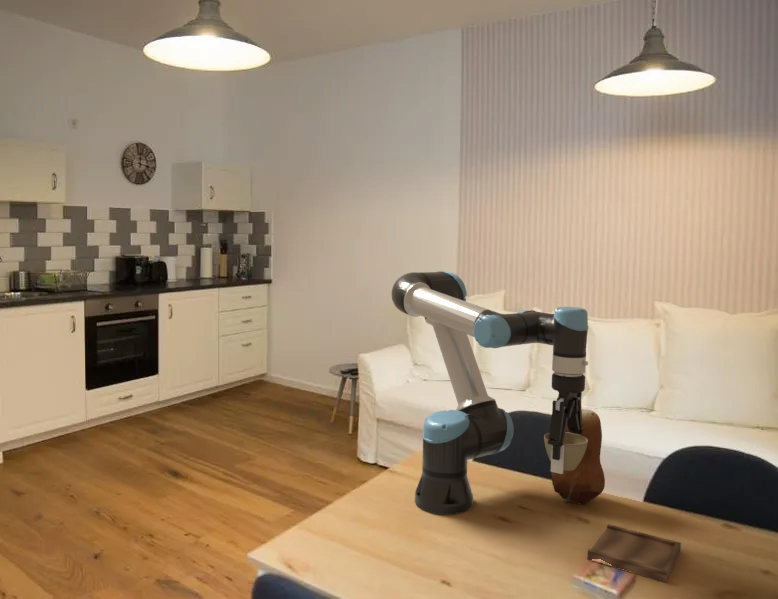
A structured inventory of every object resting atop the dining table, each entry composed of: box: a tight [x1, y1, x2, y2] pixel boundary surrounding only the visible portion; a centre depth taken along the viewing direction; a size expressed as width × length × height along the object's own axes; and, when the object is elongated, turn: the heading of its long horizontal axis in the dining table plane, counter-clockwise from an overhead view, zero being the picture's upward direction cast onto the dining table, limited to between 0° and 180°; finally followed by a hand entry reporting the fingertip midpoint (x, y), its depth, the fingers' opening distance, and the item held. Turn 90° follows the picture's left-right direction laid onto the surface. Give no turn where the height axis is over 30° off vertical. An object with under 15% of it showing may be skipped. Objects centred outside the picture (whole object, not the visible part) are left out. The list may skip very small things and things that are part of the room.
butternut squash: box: [551, 408, 606, 505], centre depth 170 cm, size 14×13×25 cm
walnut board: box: [586, 523, 682, 584], centre depth 142 cm, size 16×16×2 cm
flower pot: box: [543, 432, 588, 471], centre depth 153 cm, size 10×10×7 cm
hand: (564, 465), depth 153 cm, fingers closed on flower pot, 10 cm apart
